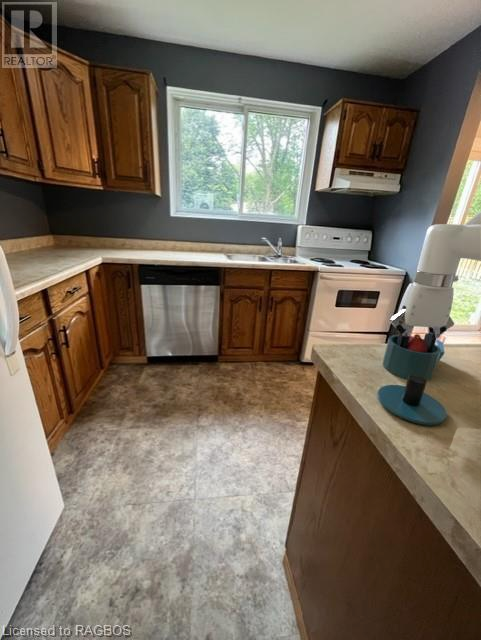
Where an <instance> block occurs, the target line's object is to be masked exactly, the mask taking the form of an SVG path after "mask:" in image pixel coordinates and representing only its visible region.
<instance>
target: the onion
mask: <svg viewBox="0 0 481 640" xmlns="http://www.w3.org/2000/svg"><path fill="white" fill-rule="evenodd" d="M423 339H424V338H422V337H421V335H420V334H418V333H416V334H414V336H413V337H410V338H409V342H408V346H407V349H408V350H411V351H416V352H421V353H427V351H428V348H427V345H426V343H425V342H424V340H423Z"/></svg>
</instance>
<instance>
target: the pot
mask: <svg viewBox="0 0 481 640" xmlns="http://www.w3.org/2000/svg"><path fill="white" fill-rule="evenodd" d="M398 337H399V334H394V335H391V336H389V337H388V340H387V343H386V347H385V351H384V355H383V360H382V366H383V368H384V369H385V370H386V371H388V372H389V373H390V374H392V375H394V376H397V377H399V378H401V379H403V380H404V379H405V380H408V376H409V375H417V376H420V377H422V378H424V379H425V380H426V381H427V382H428V381H431V380H432V378H433V376H434V374H435V370H436V368H437V365H438V363H439V362H438V359H439V356H440V353H441V349H440V348H439V347H438V346H437V345H434V347H433V350H432V352H428V351H427V353H421V352H416V351H411V350H408V349H405V348H402V347H400V346H398V345H397V341H398ZM408 337H409V338H410V337H414V336H413V335H408ZM422 339H423V340H424V338H422ZM437 362H438V363H437Z"/></svg>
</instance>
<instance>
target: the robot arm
mask: <svg viewBox="0 0 481 640" xmlns="http://www.w3.org/2000/svg"><path fill="white" fill-rule="evenodd" d="M422 244H423V245H422V248H421V252H420V257H419V260H418V263H417V268H416V272H415V276H414V279H413V282H410V283H409V284H408V286H407V288H406V290H405V292H404V293H403V296H402V299H401V301H400V304H399V307H398V310H397V312H396V314H394V315H393V316H392V317H390V318H389V322H390V323H391V325H392V326H393V327H394V328H395V330H396V331H397V332H398V335H399V337H398V341H397V345H398V346H400V347H402V348H405V349H407V346H408V342H409V337H408V336H409V334H410V333H411V332H412V330H413V328H414V327H416V328H417V327H419V328H427V330H428V331H427V332H426V333H425V334H424V337H423V339H424V342H425V343H426V345H427V348H428V352H432V350H433V347H434V345H435V342H436V341H437V339H438V338H440V337H441V336H442V334H444V333H445V332H446V331H447V330H449V329H450V328H452V327H453V326H454V325H455V322H454V321H453V319H452V317H451V311H452V307H453V302H454V294H455V293H454V291H455V290H454V287H453V284H454V282H458V281H459V276H458V275H456V274H457V271H458V268H459V265H460V261H461V259H467V260H471V261H477V262H481V210H480V211H478V213H476V214H474V216H472V217H471V218H470V219H469V220H467V221H465V223H464V224H456V223H455V224H453V223H450V224H449V223H437V224H432V225H430V226H429V227H428V228H427V230H426V233H425V237H424V241H423V243H422ZM400 321H402V323H401V324H400Z"/></svg>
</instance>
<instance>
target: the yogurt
mask: <svg viewBox="0 0 481 640" xmlns="http://www.w3.org/2000/svg"><path fill="white" fill-rule="evenodd" d="M435 345H437V346H438V347H439V348H440V349H441V353H440V356H439V359H438V362H437V364H438V363H439V362H440V361H441V359H442V357H443V356H445V346H444V342H443V341H441V340H439V339H436V341H435Z"/></svg>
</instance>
